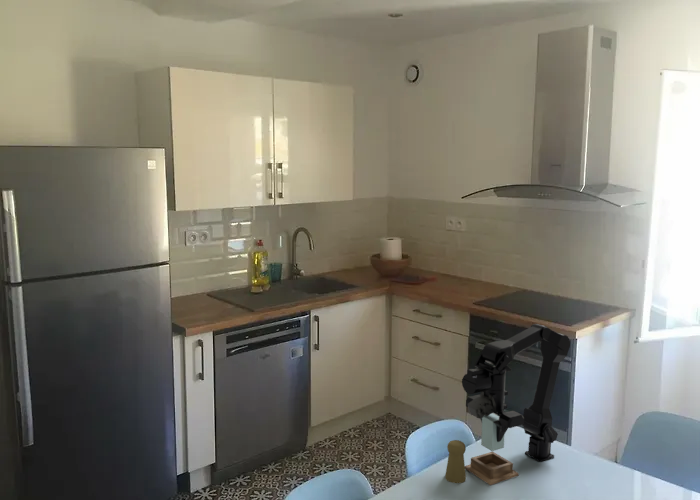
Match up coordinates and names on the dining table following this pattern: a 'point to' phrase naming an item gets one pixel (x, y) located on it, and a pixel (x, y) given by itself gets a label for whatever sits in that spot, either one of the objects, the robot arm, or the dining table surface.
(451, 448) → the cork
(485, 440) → the painted peg
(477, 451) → the dining table surface
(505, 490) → the dining table surface
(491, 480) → the walnut socket
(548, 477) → the dining table surface
